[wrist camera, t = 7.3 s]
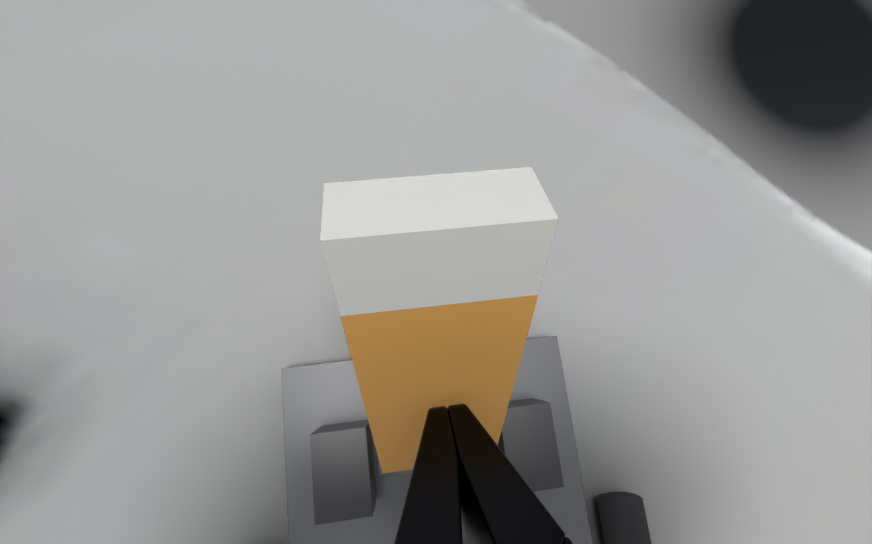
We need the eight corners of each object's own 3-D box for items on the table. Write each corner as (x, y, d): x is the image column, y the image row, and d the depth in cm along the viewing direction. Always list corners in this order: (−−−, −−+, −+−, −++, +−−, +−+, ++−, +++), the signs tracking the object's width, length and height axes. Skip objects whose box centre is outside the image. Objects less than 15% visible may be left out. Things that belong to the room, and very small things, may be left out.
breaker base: (589, 574, 18) (628, 619, 15) (299, 624, 17) (276, 684, 14) (549, 337, 20) (576, 332, 17) (287, 368, 19) (264, 369, 16)
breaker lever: (495, 472, 16) (569, 217, 7) (381, 489, 16) (307, 241, 7) (486, 432, 18) (541, 166, 8) (379, 447, 17) (313, 184, 8)
